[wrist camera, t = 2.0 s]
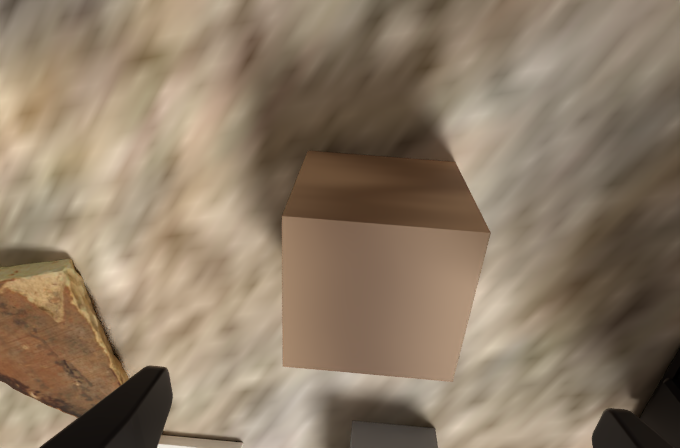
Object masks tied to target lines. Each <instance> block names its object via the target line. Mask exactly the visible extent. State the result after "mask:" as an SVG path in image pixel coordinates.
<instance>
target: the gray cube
mask: <svg viewBox="0 0 680 448" xmlns="http://www.w3.org/2000/svg"><path fill="white" fill-rule="evenodd" d="M350 448H438V445H437V438H436V431H435V428H425V427H414V426H404V425H393V424H382V423H372V422H361V421H353V422H352V431H351V440H350Z"/></svg>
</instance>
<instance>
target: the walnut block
mask: <svg viewBox="0 0 680 448" xmlns="http://www.w3.org/2000/svg"><path fill="white" fill-rule="evenodd" d="M490 234H491V233H490V231H489V229H488V227H487V225H486V223H485V221H484V219H483V217H482V215H481V213H480V211H479V209H478V207H477V205H476V203H475V201H474V199H473V197H472V195H471V193H470V191H469V189H468V187H467V185H466V183H465V181H464V179H463V177H462V175H461V173H460V171H459V169H458V167H457V165H456V163H455V162H450V161H437V160H424V159H411V158H398V157H385V156H372V155H359V154H346V153H333V152H320V151H308V152H307V154H306V157H305V159H304V162H303V164H302V167H301V169H300V172H299V174H298V177H297V179H296V182H295V184H294V187H293V189H292V192H291V194H290V197H289V199H288V202H287V204H286V207H285V209H284V212H283V214H282V326H283V366H284V367H295V368H306V369H317V370H328V371H340V372H351V373H362V374H373V375H384V376H395V377H406V378H417V379H428V380H439V381H450V382H453V378H454V374H455V370H456V366H457V363H458V359H459V355H460V351H461V347H462V343H463V339H464V335H465V331H466V327H467V323H468V320H469V316H470V312H471V308H472V304H473V300H474V296H475V292H476V288H477V284H478V280H479V277H480V273H481V269H482V265H483V261H484V257H485V253H486V249H487V245H488V241H489V237H490Z"/></svg>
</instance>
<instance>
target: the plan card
mask: <svg viewBox="0 0 680 448" xmlns="http://www.w3.org/2000/svg"><path fill="white" fill-rule="evenodd" d="M157 448H243V443H241V442H231V441H220V440H210V439H199V438H189V437H178V436H167V435H161V438H160V441H159V444H158V447H157Z"/></svg>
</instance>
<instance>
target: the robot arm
mask: <svg viewBox="0 0 680 448" xmlns="http://www.w3.org/2000/svg"><path fill="white" fill-rule="evenodd" d="M172 399H173V394H172V388H171V382H170V377H169V372H168V369H167V368H166V367H160V366H146V367H144V368H143V369H142V370H140V371H139V372H138V373H136V374H135V375H134V376H132V377H131V378H130V379H128V380H127V381H126V382H125V383H123V384H122V385H121V386H119V387H118V388H117V389H115V390H114V391H113V392H111V393H110V394H109V395H108V396H106V397H105V398H104V399H102V400H101V401H100V402H98V403H97V404H96V405H94V406H93V407H92V408H91V409H89V410H88V411H87V412H85V413H84V414H83V415H81V416H80V417H79V418H77V419H76V420H75V421H74V422H72V423H71V424H70V425H68V426H67V427H66V428H64V429H63V430H62V431H60V432H59V433H58V434H57V435H55V436H54V437H53V438H51V439H50V440H49V441H47V442H46V443H45V444H43V445H42V446H41V447H40V448H157V447H158V444H159V441H160V438H161V435H162V432H163V429H164V426H165V423H166V420H167V417H168V414H169V411H170V408H171V404H172ZM592 445H593V448H680V349H679V351H678V352H677V354H676V356H675V358H674V359H673V361H672V363H671V364H670V366H669V368H668V370H667V371H666V373H665V375H664V377H663V378H662V380H661V382H660V384H659V385H658V387H657V389H656V391H655V392H654V394H653V396H652V397H651V399H650V401H649V403H648V404H647V406H646V408H645V410H644V411H643V413H642V415H641V417H640V418H638V417H637V416H636V415H635V414H634V413H632V412H631V411H628V410H625V409H614V408H608V409H606V410H605V411H604V412H603V414H602V416H601V418H600V420H599V422H598V424H597V426H596V428H595V430H594V432H593V435H592Z"/></svg>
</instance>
